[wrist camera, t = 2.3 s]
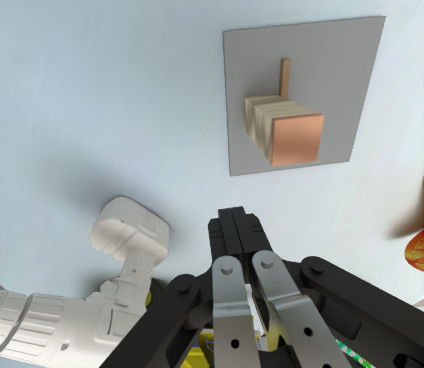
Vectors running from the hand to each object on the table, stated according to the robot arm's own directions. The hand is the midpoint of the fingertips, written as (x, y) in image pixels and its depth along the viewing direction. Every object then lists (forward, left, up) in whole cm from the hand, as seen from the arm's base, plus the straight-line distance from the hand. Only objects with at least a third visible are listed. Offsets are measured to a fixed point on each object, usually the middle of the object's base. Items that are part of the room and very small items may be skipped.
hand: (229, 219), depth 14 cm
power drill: (+17, -17, -26) cm, 35 cm away
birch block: (0, +9, -25) cm, 26 cm away
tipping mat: (0, +15, -26) cm, 30 cm away
